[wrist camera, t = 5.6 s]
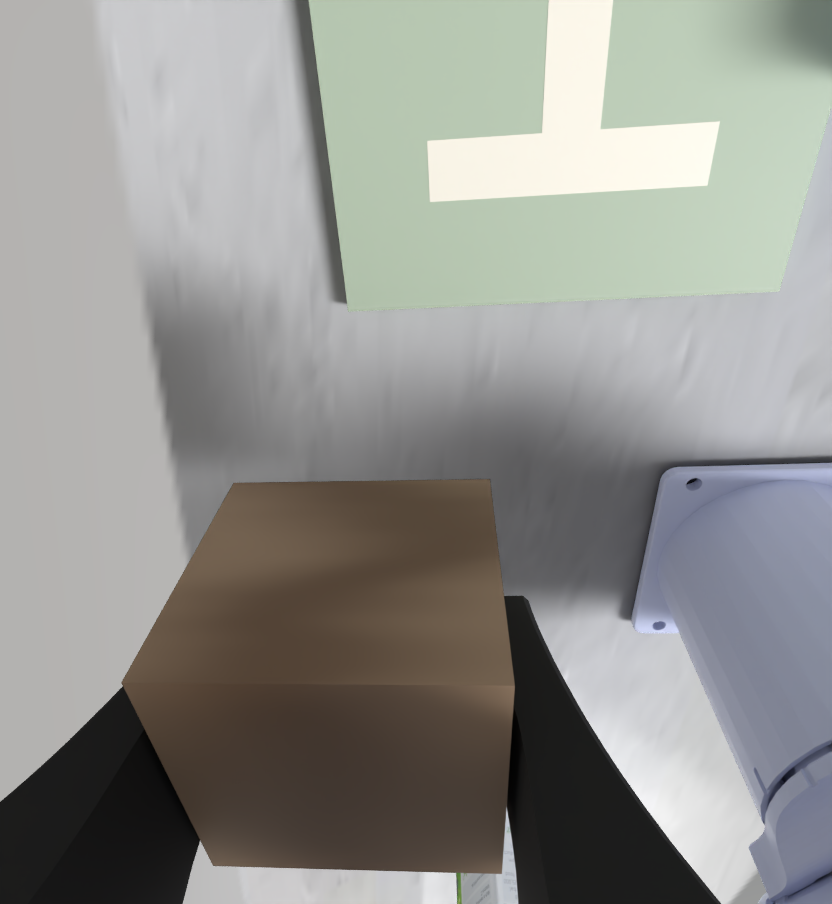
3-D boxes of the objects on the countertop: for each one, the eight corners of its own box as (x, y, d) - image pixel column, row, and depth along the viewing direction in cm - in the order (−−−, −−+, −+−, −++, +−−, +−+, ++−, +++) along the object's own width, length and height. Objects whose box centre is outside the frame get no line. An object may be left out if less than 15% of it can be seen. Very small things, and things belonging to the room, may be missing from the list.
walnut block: (489, 478, 11) (514, 685, 7) (485, 653, 13) (501, 874, 10) (233, 483, 11) (121, 682, 7) (278, 652, 14) (213, 865, 10)
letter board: (959, -418, 10) (988, -447, 9) (768, 285, 16) (779, 291, 15) (272, -332, 10) (263, -354, 10) (351, 305, 17) (348, 311, 16)
